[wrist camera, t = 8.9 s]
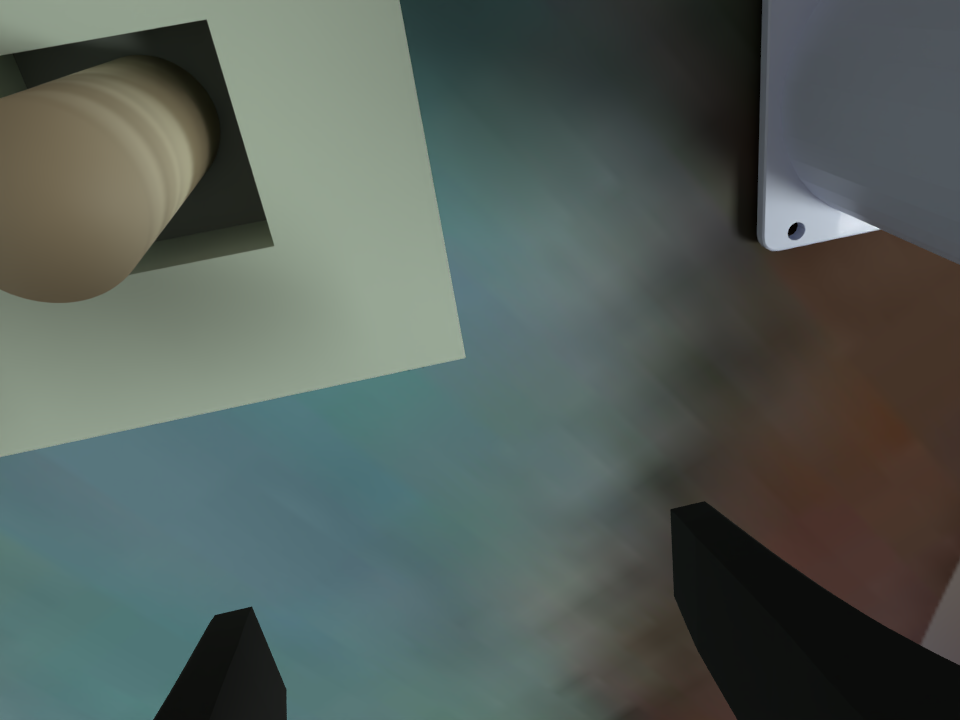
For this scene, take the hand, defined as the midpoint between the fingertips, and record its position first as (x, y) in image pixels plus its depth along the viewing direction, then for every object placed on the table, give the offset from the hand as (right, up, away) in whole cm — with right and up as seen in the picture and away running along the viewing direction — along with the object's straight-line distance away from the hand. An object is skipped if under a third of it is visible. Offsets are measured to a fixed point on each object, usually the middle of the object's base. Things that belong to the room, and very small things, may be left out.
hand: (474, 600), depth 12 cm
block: (-8, +9, +5) cm, 13 cm away
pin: (-7, +9, +4) cm, 13 cm away
